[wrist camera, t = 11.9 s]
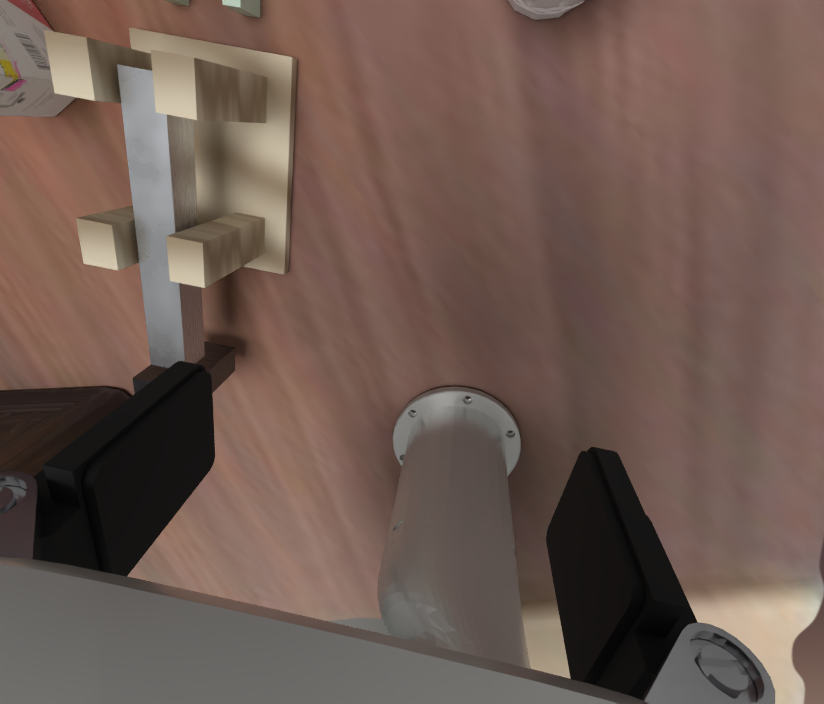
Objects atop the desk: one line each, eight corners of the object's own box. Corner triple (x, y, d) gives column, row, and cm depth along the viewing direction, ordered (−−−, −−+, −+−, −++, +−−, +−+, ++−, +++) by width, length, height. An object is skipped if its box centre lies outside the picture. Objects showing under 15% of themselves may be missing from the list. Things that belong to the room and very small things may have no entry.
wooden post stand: (288, 271, 40) (231, 314, 30) (158, 245, 40) (62, 279, 31) (297, 59, 32) (225, 29, 23) (138, 30, 33) (5, -11, 24)
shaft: (235, 370, 42) (189, 415, 35) (189, 360, 42) (136, 404, 35) (230, 85, 32) (165, 73, 25) (170, 74, 32) (89, 59, 25)
